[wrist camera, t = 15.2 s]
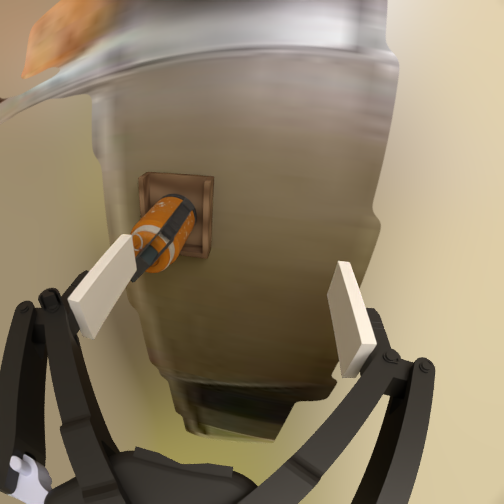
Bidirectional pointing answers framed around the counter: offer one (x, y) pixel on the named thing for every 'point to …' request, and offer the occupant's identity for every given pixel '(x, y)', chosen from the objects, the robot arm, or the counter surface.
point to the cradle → (191, 188)
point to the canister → (162, 233)
